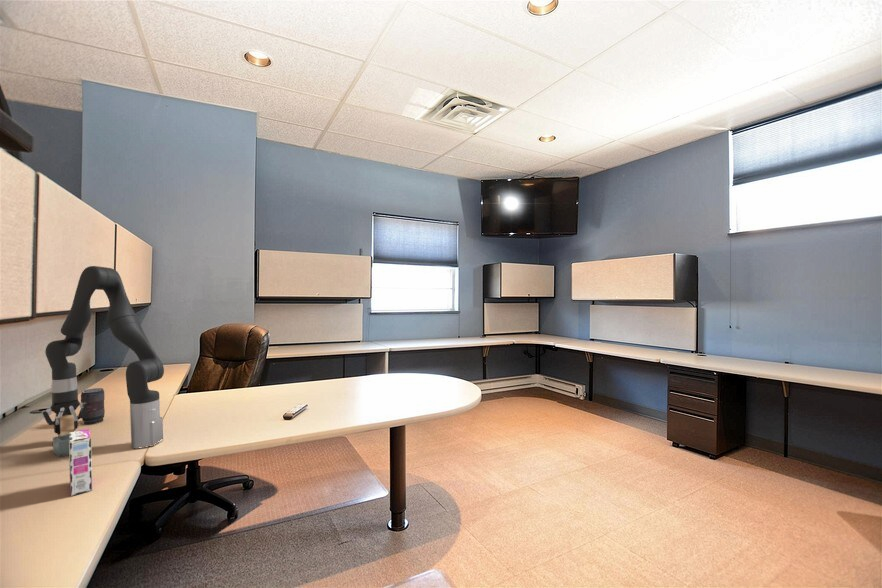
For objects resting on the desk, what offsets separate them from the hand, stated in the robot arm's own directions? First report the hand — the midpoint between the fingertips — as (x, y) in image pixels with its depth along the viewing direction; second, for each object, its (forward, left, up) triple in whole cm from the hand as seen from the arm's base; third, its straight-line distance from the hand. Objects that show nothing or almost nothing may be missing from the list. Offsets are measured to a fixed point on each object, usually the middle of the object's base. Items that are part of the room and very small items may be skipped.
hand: (66, 431), depth 156 cm
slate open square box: (-9, +9, -4) cm, 13 cm away
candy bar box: (-36, +39, -5) cm, 53 cm away
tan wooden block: (0, 0, -4) cm, 4 cm away
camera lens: (+8, -24, -5) cm, 26 cm away
